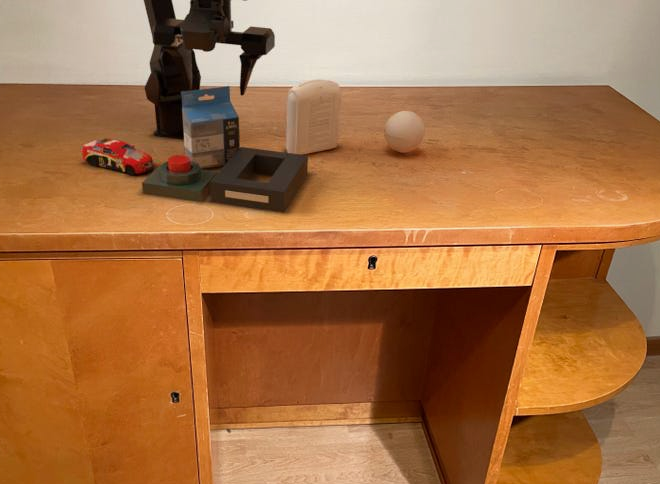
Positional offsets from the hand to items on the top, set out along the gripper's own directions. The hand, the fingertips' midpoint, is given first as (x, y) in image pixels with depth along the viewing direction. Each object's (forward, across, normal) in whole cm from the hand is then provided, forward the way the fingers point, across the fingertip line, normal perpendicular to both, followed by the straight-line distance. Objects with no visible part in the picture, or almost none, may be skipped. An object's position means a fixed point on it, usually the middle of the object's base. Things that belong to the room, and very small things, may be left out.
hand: (216, 91), depth 117 cm
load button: (+9, -3, -12) cm, 15 cm away
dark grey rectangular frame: (+12, +10, -8) cm, 18 cm away
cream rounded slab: (+12, +14, +11) cm, 22 cm away
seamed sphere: (+12, +29, +15) cm, 35 cm away
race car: (+12, -16, -7) cm, 21 cm away
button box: (+12, -2, -12) cm, 17 cm away
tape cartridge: (+12, -1, -1) cm, 12 cm away
